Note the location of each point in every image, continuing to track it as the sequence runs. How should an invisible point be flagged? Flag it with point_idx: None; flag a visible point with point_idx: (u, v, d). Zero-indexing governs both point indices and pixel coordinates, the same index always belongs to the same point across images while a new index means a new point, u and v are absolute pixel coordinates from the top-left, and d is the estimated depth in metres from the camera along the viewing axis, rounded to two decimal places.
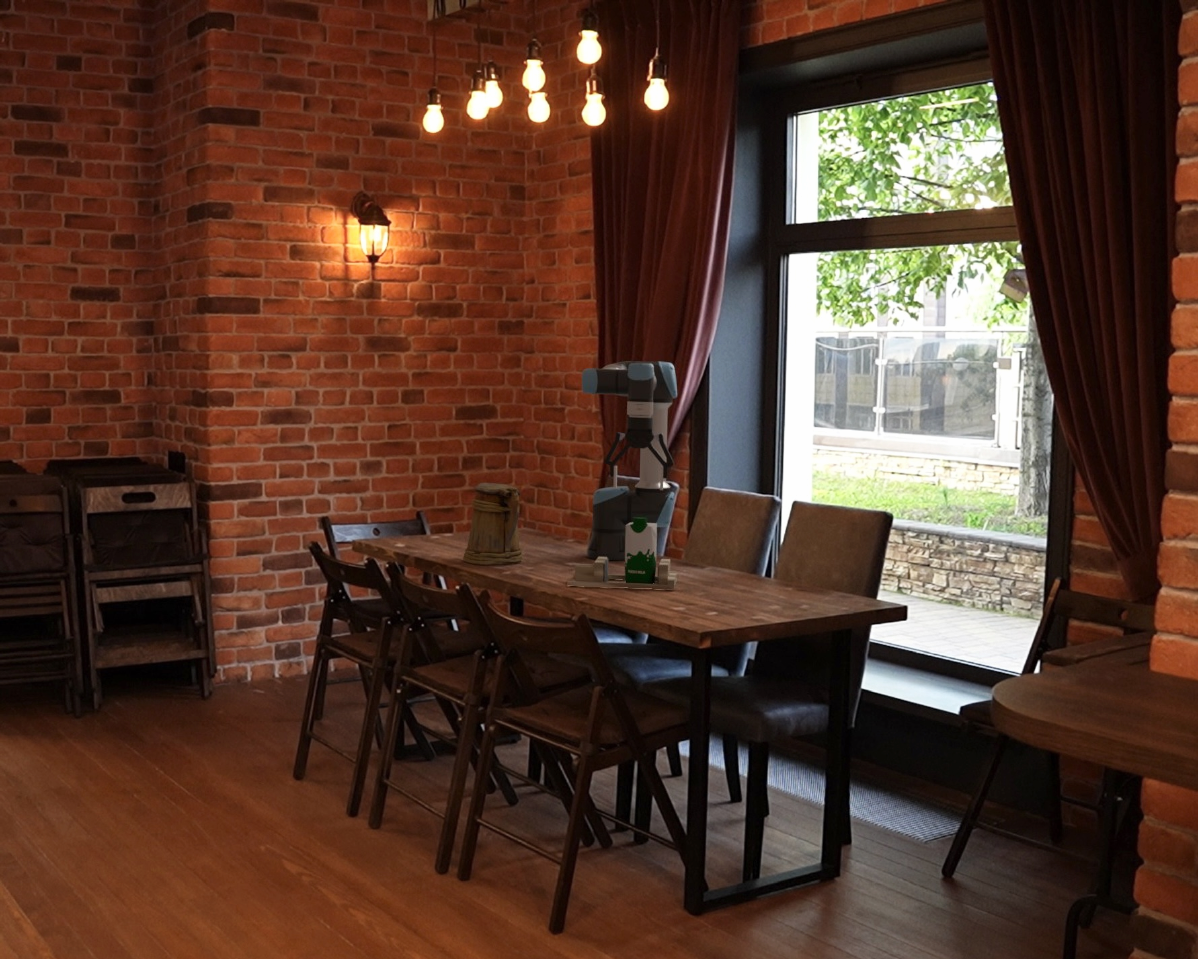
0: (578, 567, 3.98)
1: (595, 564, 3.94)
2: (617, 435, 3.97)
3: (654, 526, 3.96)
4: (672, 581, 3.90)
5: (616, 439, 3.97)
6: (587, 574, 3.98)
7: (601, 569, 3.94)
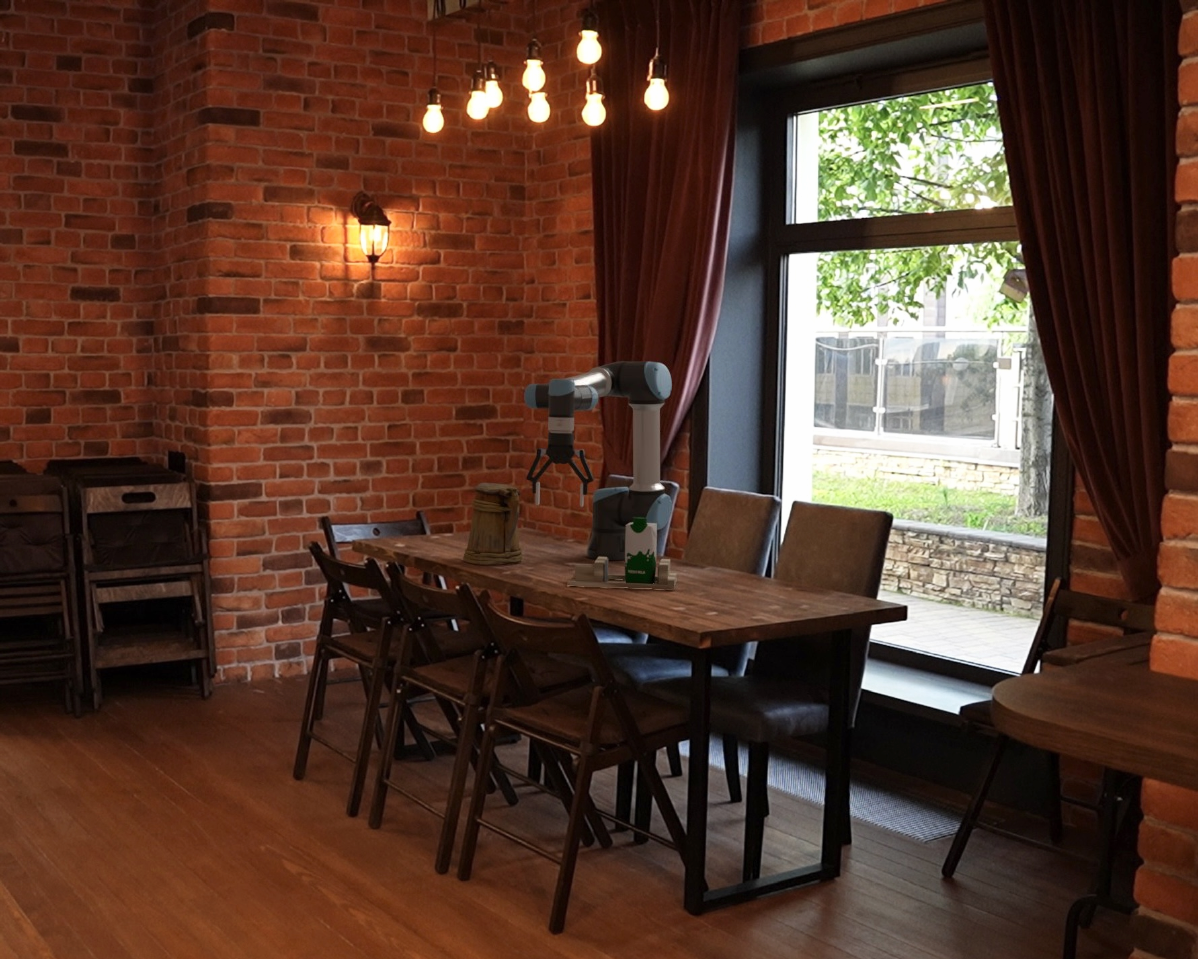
0: (578, 567, 3.98)
1: (595, 564, 3.94)
2: (538, 451, 3.97)
3: (654, 526, 3.96)
4: (672, 581, 3.90)
5: (537, 455, 3.97)
6: (587, 574, 3.98)
7: (601, 569, 3.94)
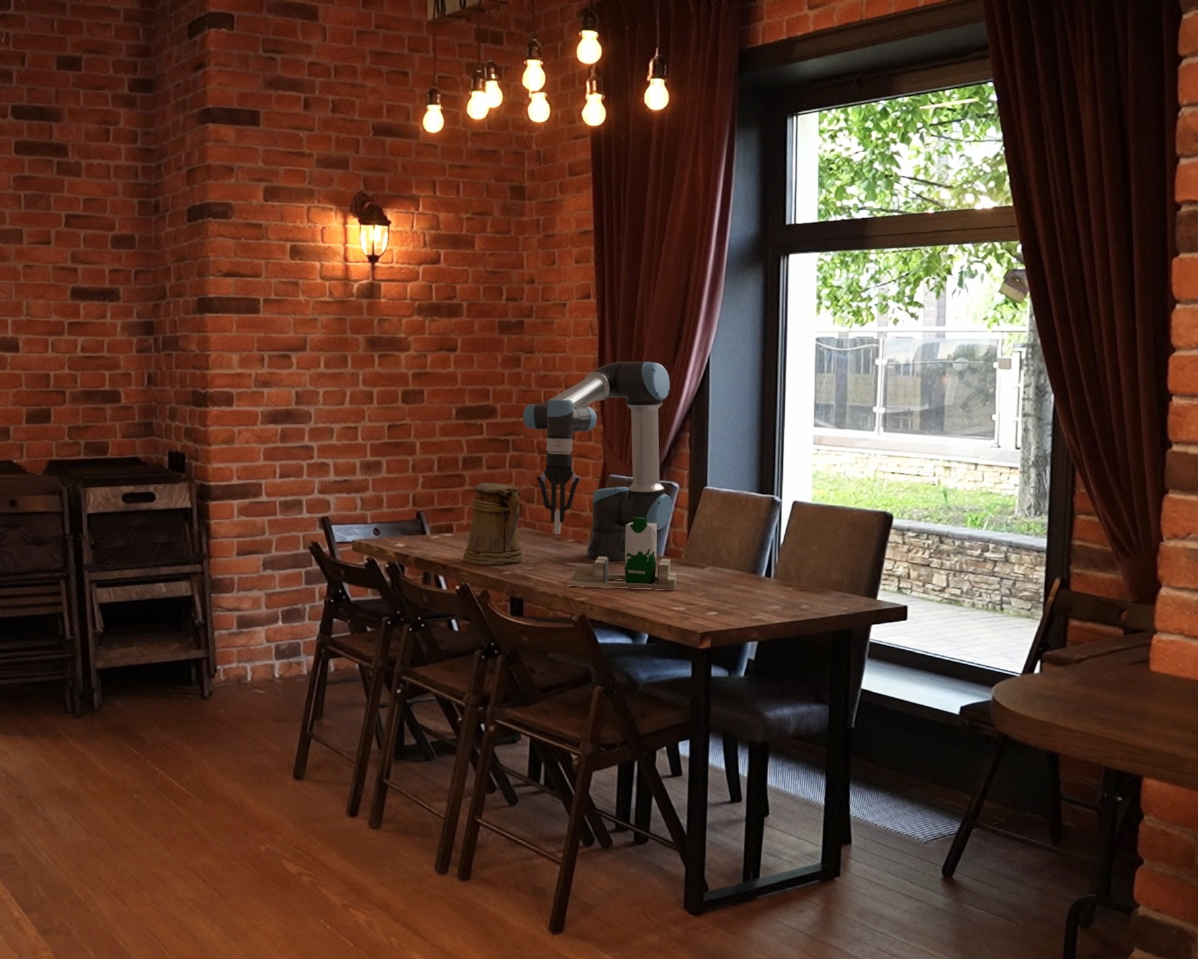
0: (578, 567, 3.98)
1: (595, 564, 3.94)
2: (538, 479, 3.98)
3: (654, 526, 3.96)
4: (672, 581, 3.90)
5: (540, 482, 3.98)
6: (587, 574, 3.98)
7: (601, 569, 3.94)
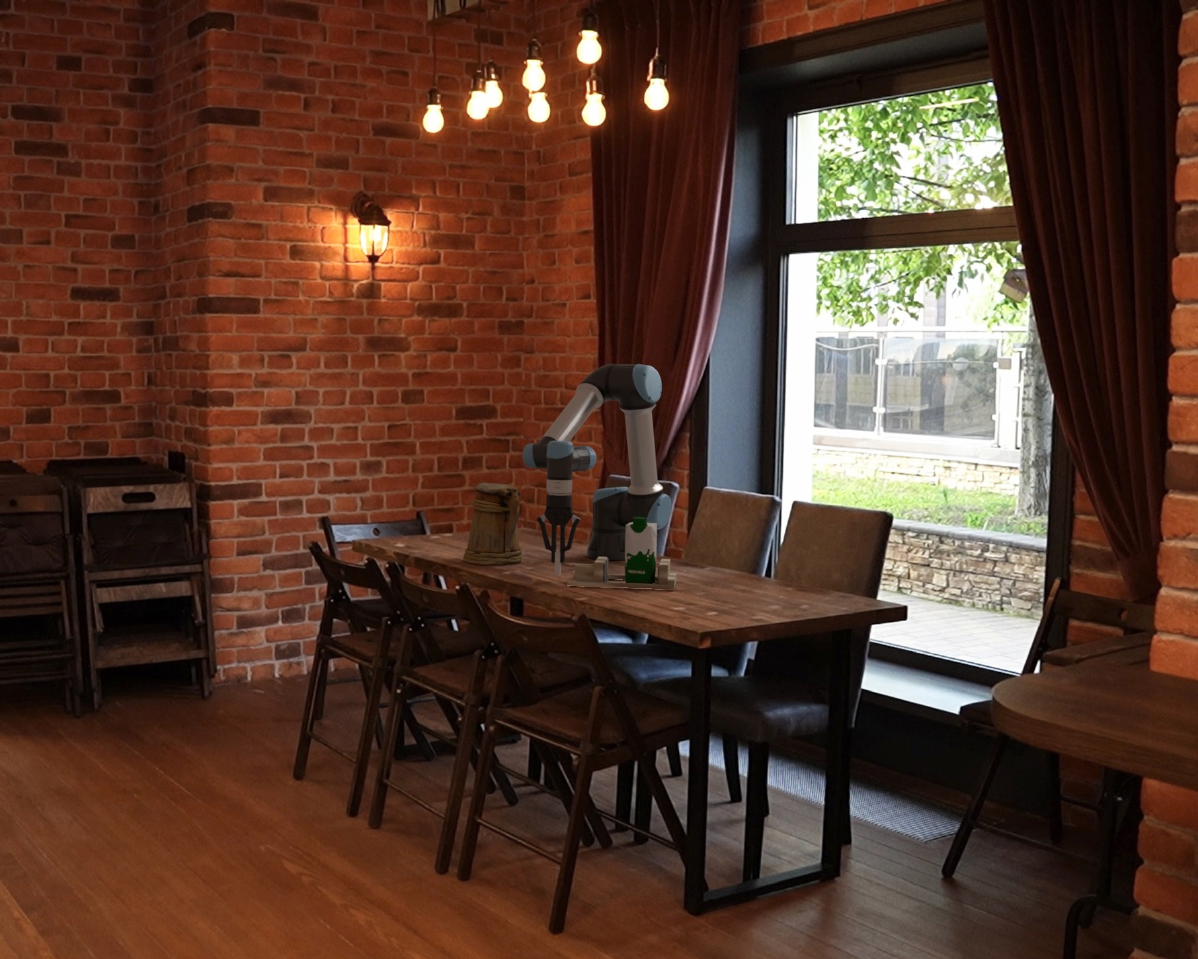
0: (578, 567, 3.98)
1: (595, 564, 3.94)
2: (539, 520, 3.99)
3: (654, 526, 3.96)
4: (672, 581, 3.90)
5: (540, 523, 3.99)
6: (587, 574, 3.98)
7: (601, 569, 3.94)
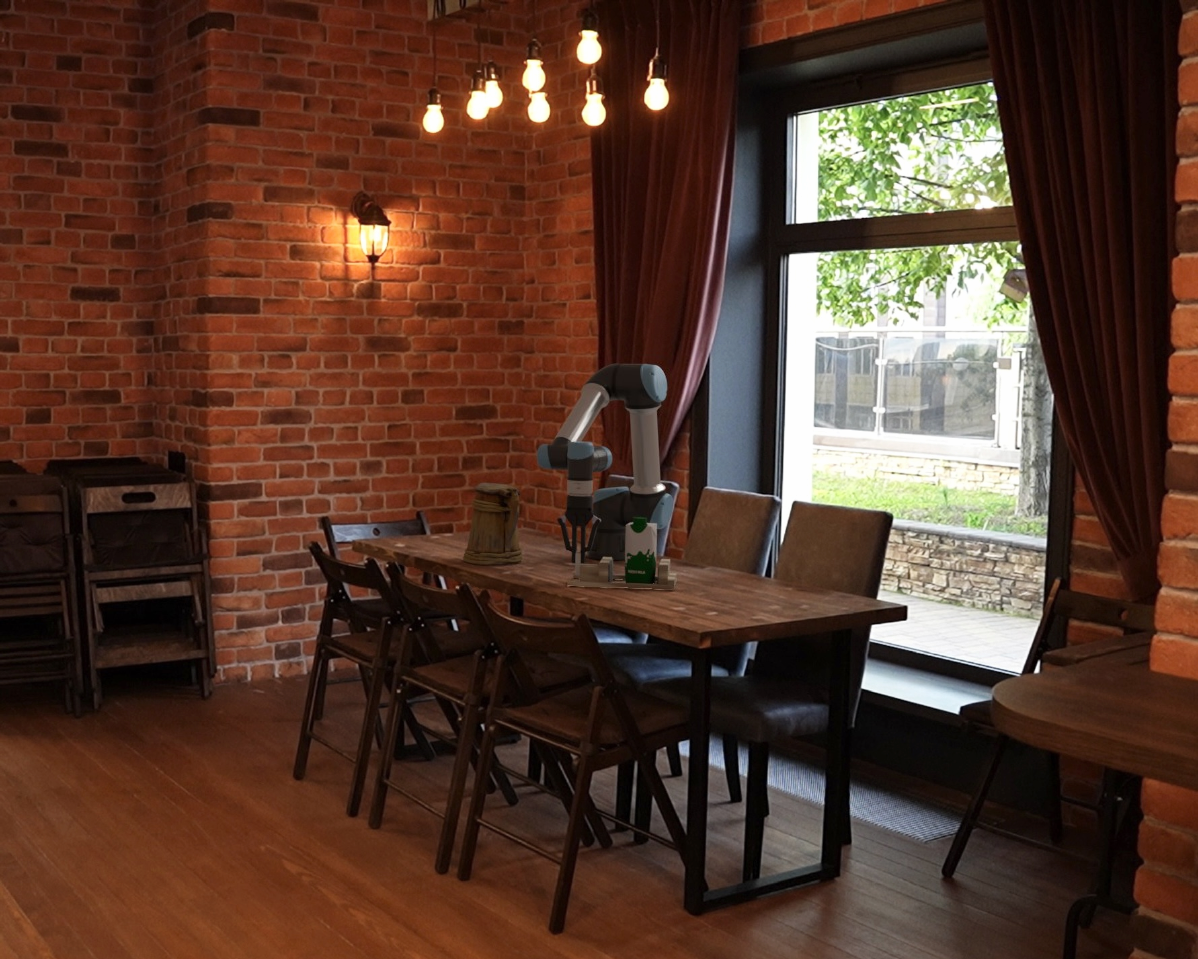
0: (583, 567, 3.98)
1: (600, 564, 3.94)
2: (559, 520, 3.99)
3: (654, 526, 3.96)
4: (672, 581, 3.90)
5: (561, 524, 3.99)
6: (592, 574, 3.98)
7: (606, 569, 3.93)
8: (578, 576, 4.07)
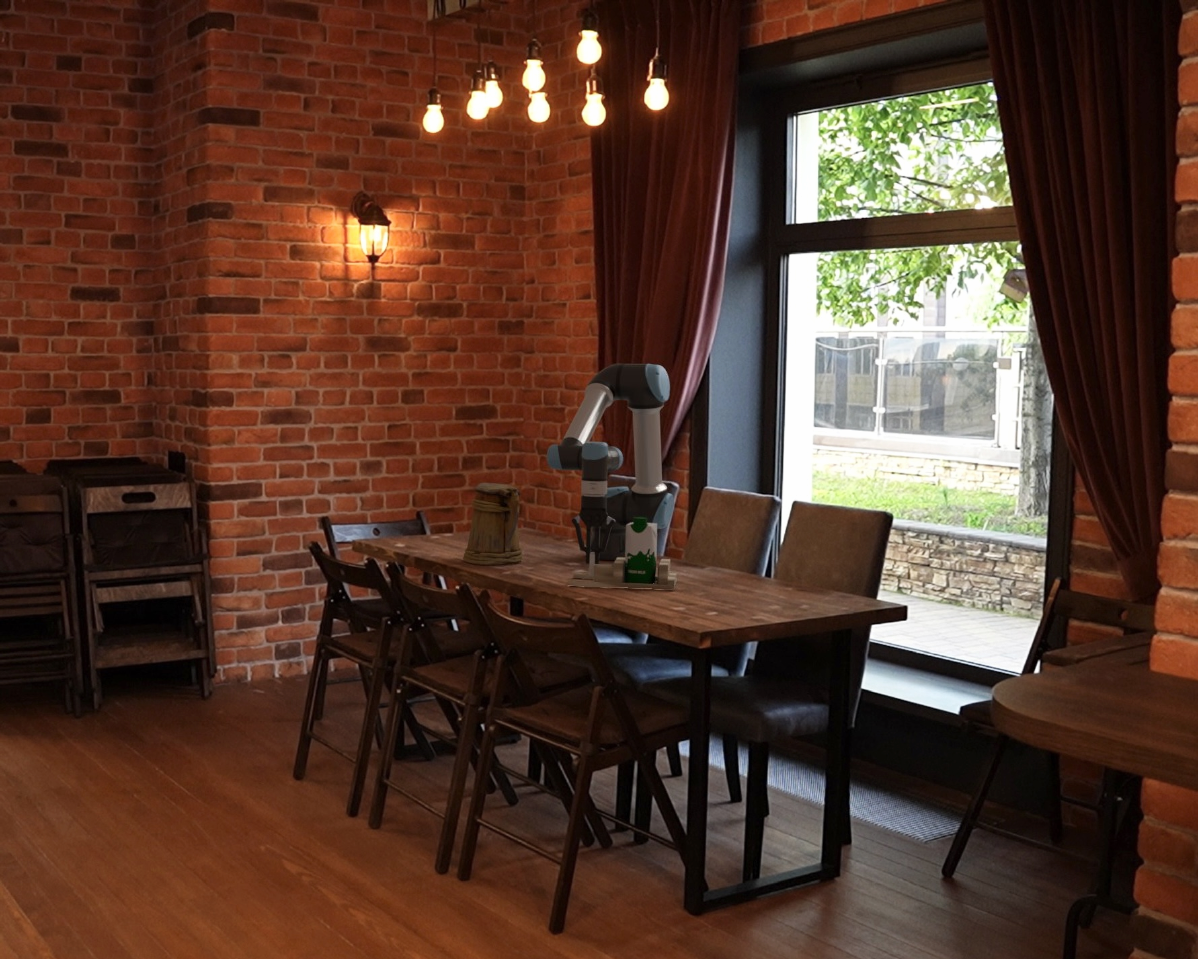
0: (597, 568, 3.97)
1: (614, 565, 3.93)
2: (573, 521, 3.98)
3: (654, 526, 3.96)
4: (672, 581, 3.90)
5: (575, 525, 3.98)
6: (606, 575, 3.97)
7: (620, 570, 3.93)
8: (578, 576, 4.07)
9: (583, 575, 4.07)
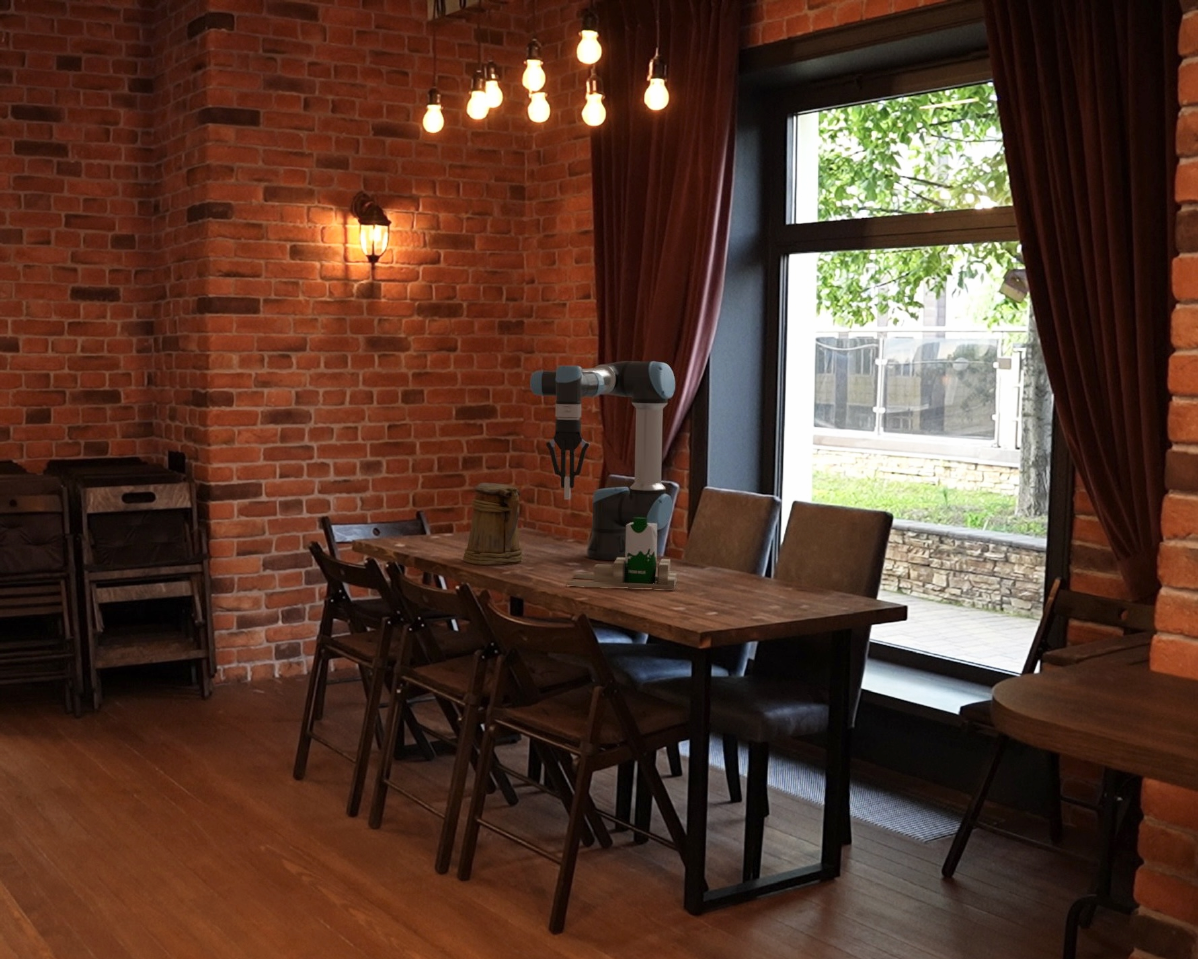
0: (597, 568, 3.97)
1: (614, 565, 3.93)
2: (548, 445, 3.98)
3: (654, 526, 3.96)
4: (672, 581, 3.90)
5: (550, 448, 3.98)
6: (606, 575, 3.97)
7: (620, 570, 3.93)
8: (578, 576, 4.07)
9: (583, 575, 4.07)
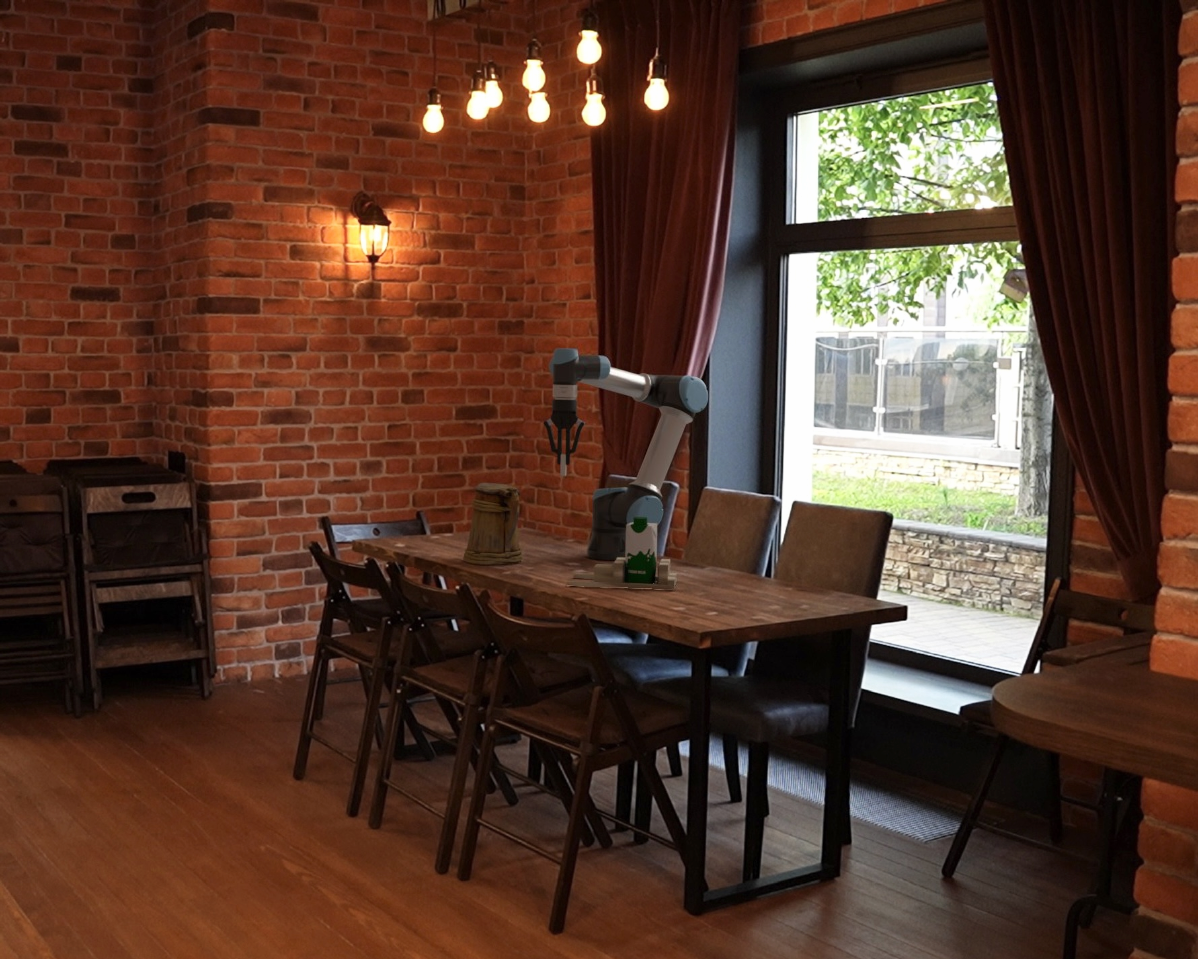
0: (597, 568, 3.97)
1: (614, 565, 3.93)
2: (545, 423, 4.19)
3: (654, 526, 3.96)
4: (672, 581, 3.90)
5: (547, 427, 4.19)
6: (606, 575, 3.97)
7: (620, 570, 3.93)
8: (578, 576, 4.07)
9: (583, 575, 4.07)
